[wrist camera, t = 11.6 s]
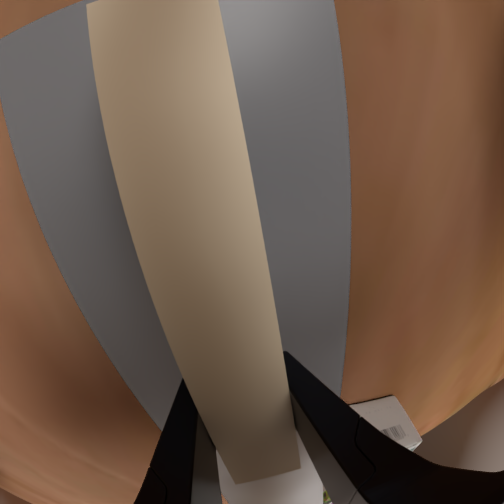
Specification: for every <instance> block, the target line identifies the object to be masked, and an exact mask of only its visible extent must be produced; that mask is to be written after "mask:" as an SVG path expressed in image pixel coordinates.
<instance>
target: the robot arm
mask: <svg viewBox="0 0 504 504" xmlns="http://www.w3.org/2000/svg"><path fill="white" fill-rule="evenodd" d="M283 356H284V362H285V368H286V374H287V380H288V387H289V393H290V399H291V405H292V412H293V418H294V424H295V428H296V430H297V432H298V434H299V436H300V438H301V440H302V442H303V445H304V447H305V449H306V451H307V453H308V455H309V457H310V459H311V461H312V463H313V465H314V467H315V469H316V471H317V473H318V475H319V477H320V479H321V481H322V483H323V485H324V487H325V489H326V491H327V493H328V495H329V497H330V499H331V501H332V503H333V504H504V470H503V471H500V472H483V471H474V470H467V469H459V468H453V467H446V466H442V465H438V464H435V463H432V462H430V461H428V460H426V459H424V458H422V457H421V456H419V455H417V454H416V453H414V452H412V451H411V450H409V449H407V448H406V447H404V446H402V445H401V444H399V443H397V442H396V441H394V440H393V439H391V438H390V437H388V436H387V435H385V434H384V433H382V432H381V431H379V430H378V429H377V428H376V427H374V426H373V425H372V424H370V423H369V422H368V421H367V420H366V419H364V418H363V417H360V415H359V414H358V413H357V412H356V411H355V410H354V409H352V408H351V407H350V406H349V405H348V404H347V403H345V402H344V401H343V400H342V399H341V398H340V397H338V396H337V395H336V394H335V393H334V392H333V391H332V390H330V389H329V388H328V387H327V386H326V385H325V384H324V383H322V382H321V381H320V380H319V379H318V378H317V377H316V376H314V375H313V374H312V373H311V372H310V371H309V370H308V369H307V368H305V367H304V366H303V365H302V364H301V363H300V362H299V361H298V360H297V359H295V358H294V357H293V356H292V355H291V354H290V353H289V352H287V351H283ZM134 504H222V497H221V489H220V481H219V473H218V464H217V455H216V447H215V445H214V443H213V441H212V439H211V437H210V435H209V433H208V431H207V429H206V427H205V425H204V423H203V421H202V419H201V416H200V414H199V412H198V410H197V408H196V406H195V404H194V401H193V399H192V397H191V395H190V392H189V390H188V388H187V386H186V383H185V381H184V379H183V378H182V380H181V383H180V385H179V388H178V391H177V393H176V396H175V398H174V401H173V404H172V406H171V409H170V412H169V414H168V417H167V420H166V422H165V425H164V428H163V430H162V433H161V436H160V439H159V441H158V444H157V447H156V449H155V452H154V455H153V458H152V460H151V463H150V467H149V468H148V471H147V474H146V477H145V479H144V482H143V484H142V487H141V489H140V491H139V493H138V496H137V498H136V500H135V502H134Z"/></svg>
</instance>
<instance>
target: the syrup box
mask: <svg viewBox="0 0 504 504" xmlns="http://www.w3.org/2000/svg"><path fill="white" fill-rule="evenodd" d="M349 406H350V407H351V408H352V409H354V410H355V411H356V412H357V413H358V414H359V415H360V417H363V418H364V419H366V420H367V421H368V422H369V423H370V424H372V425H373V426H374V427H376V428H377V429H378V430H379V431H381V432H382V433H384V434H385V435H387V436H388V437H390V438H391V439H393V440H394V441H396V442H397V443H399V444H401V445H402V446H404V447H406V448H407V449H409V450H411V451H413V450H414V449H415V448H416V447H417V446H418V445H419V444H420V443H421V442H422V439H421V437H420V435H419V433H418V432H417V430H416V428H415V427H414V425H413V423H412V422H411V420H410V418H409V417H408V415H407V413H406V412H405V410H404V409H403V407H402V406H401V404H400V403H399V401H398V400H397V398H396V397H395V396H388V397H385V398H380V399H376V400H372V401H367V402H363V403H358V404H353V405H349ZM323 504H333V503H332V501H331V499H330V497H329V495H328V493H327V491H326V489H325V487H324V485H323Z"/></svg>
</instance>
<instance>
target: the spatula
mask: <svg viewBox="0 0 504 504" xmlns="http://www.w3.org/2000/svg"><path fill="white" fill-rule="evenodd" d="M86 7H87V19H88V29H89V38H90V46H91V54H92V61H93V68H94V75H95V81H96V87H97V93H98V99H99V105H100V110H101V115H102V120H103V125H104V130H105V135H106V140H107V144H108V149H109V153H110V157H111V162H112V166H113V170H114V174H115V178H116V182H117V186H118V190H119V194H120V198H121V201H122V205H123V209H124V212H125V216H126V219H127V223H128V226H129V230H130V233H131V236H132V240H133V243H134V246H135V249H136V252H137V256H138V259H139V262H140V265H141V268H142V271H143V274H144V277H145V280H146V283H147V286H148V289H149V292H150V294H151V297H152V300H153V303H154V306H155V308H156V311H157V314H158V317H159V319H160V322H161V325H162V327H163V330H164V332H165V335H166V338H167V340H168V343H169V345H170V348H171V350H172V353H173V355H174V357H175V360H176V362H177V365H178V367H179V369H180V372H181V374H182V377H183V379H184V381H185V383H186V386H187V388H188V390H189V392H190V395H191V397H192V399H193V401H194V404H195V406H196V408H197V410H198V412H199V414H200V416H201V419H202V421H203V423H204V425H205V427H206V429H207V431H208V433H209V435H210V437H211V439H212V441H213V443H214V445H215V447H216V455H217V464H218V473H219V481H220V489H221V493H222V494H223V496H224V497H225V499H226V500H227V502H228V503H229V504H323V483H322V481H321V479H320V477H319V475H318V473H317V471H316V469H315V467H314V465H313V463H312V461H311V459H310V457H309V455H308V453H307V451H306V449H305V447H304V445H303V442H302V440H301V438H300V436H299V434H298V432H297V430H296V428H295V424H294V418H293V412H292V405H291V399H290V393H289V387H288V380H287V374H286V368H285V362H284V356H283V350H282V344H281V338H280V332H279V326H278V320H277V314H276V308H275V303H274V297H273V291H272V285H271V279H270V273H269V268H268V262H267V256H266V251H265V245H264V239H263V234H262V228H261V222H260V217H259V211H258V206H257V200H256V195H255V189H254V184H253V178H252V173H251V167H250V162H249V156H248V151H247V146H246V140H245V135H244V130H243V124H242V119H241V114H240V109H239V103H238V98H237V93H236V88H235V82H234V77H233V72H232V67H231V62H230V57H229V52H228V47H227V42H226V37H225V32H224V27H223V22H222V17H221V12H220V7H219V2H218V0H98V1H95V2H92V3H89V4H86Z"/></svg>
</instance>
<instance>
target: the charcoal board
mask: <svg viewBox="0 0 504 504" xmlns="http://www.w3.org/2000/svg"><path fill="white" fill-rule="evenodd" d="M95 1H98V0H83V1H80V2H78V3H75V4H73V5H70V6H67V7H65V8H63V9H60V10H58V11H56V12H53V13H51V14H49V15H46V16H44V17H42V18H40V19H38V20H36V21H34V22H32V23H30V24H28V25H26V26H24V27H22V28H20V29H18V30H16V31H14V32H12V33H10V34H9V35H7V36H5V37H3V38H2V39H0V98H1V103H2V108H3V112H4V116H5V121H6V125H7V129H8V132H9V136H10V140H11V143H12V147H13V150H14V154H15V157H16V160H17V164H18V167H19V170H20V173H21V176H22V179H23V182H24V185H25V188H26V191H27V193H28V196H29V199H30V202H31V204H32V207H33V209H34V212H35V215H36V217H37V220H38V222H39V225H40V227H41V229H42V232H43V234H44V237H45V239H46V241H47V243H48V246H49V248H50V250H51V252H52V255H53V257H54V259H55V261H56V263H57V265H58V267H59V269H60V272H61V274H62V276H63V278H64V280H65V282H66V284H67V286H68V288H69V289H70V291H71V293H72V295H73V297H74V299H75V301H76V303H77V305H78V306H79V308H80V310H81V312H82V314H83V315H84V317H85V319H86V321H87V323H88V324H89V326H90V328H91V329H92V331H93V333H94V334H95V336H96V338H97V339H98V341H99V343H100V344H101V346H102V348H103V349H104V351H105V352H106V354H107V356H108V357H109V359H110V360H111V362H112V363H113V365H114V366H115V368H116V369H117V371H118V372H119V374H120V375H121V377H122V378H123V380H124V381H125V383H126V384H127V386H128V387H129V388H130V390H131V391H132V393H133V394H134V395H135V397H136V398H137V400H138V401H139V402H140V404H141V405H142V406H143V408H144V409H145V410H146V412H147V413H148V414H149V416H150V417H151V418H152V420H153V421H154V422H155V423H156V425H157V426H158V427H159V428H160V430H161V431H162V430H163V428H164V425H165V422H166V420H167V417H168V414H169V412H170V409H171V406H172V404H173V401H174V398H175V396H176V393H177V391H178V388H179V385H180V383H181V380H182V378H183V377H182V374H181V372H180V369H179V367H178V365H177V362H176V360H175V357H174V355H173V353H172V350H171V348H170V345H169V343H168V340H167V338H166V335H165V332H164V330H163V327H162V325H161V322H160V319H159V317H158V314H157V311H156V308H155V306H154V303H153V300H152V297H151V294H150V292H149V289H148V286H147V283H146V280H145V277H144V274H143V271H142V268H141V265H140V262H139V259H138V256H137V252H136V249H135V246H134V243H133V240H132V236H131V233H130V230H129V226H128V223H127V219H126V216H125V212H124V209H123V205H122V201H121V198H120V194H119V190H118V186H117V182H116V178H115V174H114V170H113V166H112V162H111V157H110V153H109V149H108V144H107V140H106V135H105V130H104V125H103V120H102V115H101V110H100V105H99V99H98V93H97V87H96V81H95V75H94V68H93V61H92V54H91V46H90V38H89V29H88V19H87V7H86V4H89V3H92V2H95ZM218 2H219V7H220V12H221V17H222V22H223V27H224V32H225V37H226V42H227V47H228V52H229V57H230V62H231V67H232V72H233V77H234V82H235V88H236V93H237V98H238V103H239V109H240V114H241V119H242V124H243V130H244V135H245V140H246V146H247V151H248V156H249V162H250V167H251V173H252V178H253V184H254V189H255V195H256V200H257V206H258V211H259V217H260V222H261V228H262V234H263V239H264V245H265V251H266V256H267V262H268V268H269V273H270V279H271V285H272V291H273V297H274V303H275V308H276V314H277V320H278V326H279V332H280V338H281V344H282V350H283V351H287V352H289V353H290V354H291V355H292V356H293V357H294V358H295V359H297V360H298V361H299V362H300V363H301V364H302V365H303V366H304V367H305V368H307V369H308V370H309V371H310V372H311V373H312V374H313V375H314V376H316V377H317V378H318V379H319V380H320V381H321V382H322V383H324V384H325V385H326V386H327V387H328V388H329V389H330V390H332V391H333V392H334V393H335V394H336V395H337V396H338V397H340V394H341V386H342V377H343V368H344V358H345V347H346V335H347V322H348V307H349V288H350V263H351V173H350V148H349V130H348V115H347V103H346V91H345V81H344V71H343V62H342V54H341V46H340V38H339V31H338V24H337V18H336V11H335V5H334V0H218Z"/></svg>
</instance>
